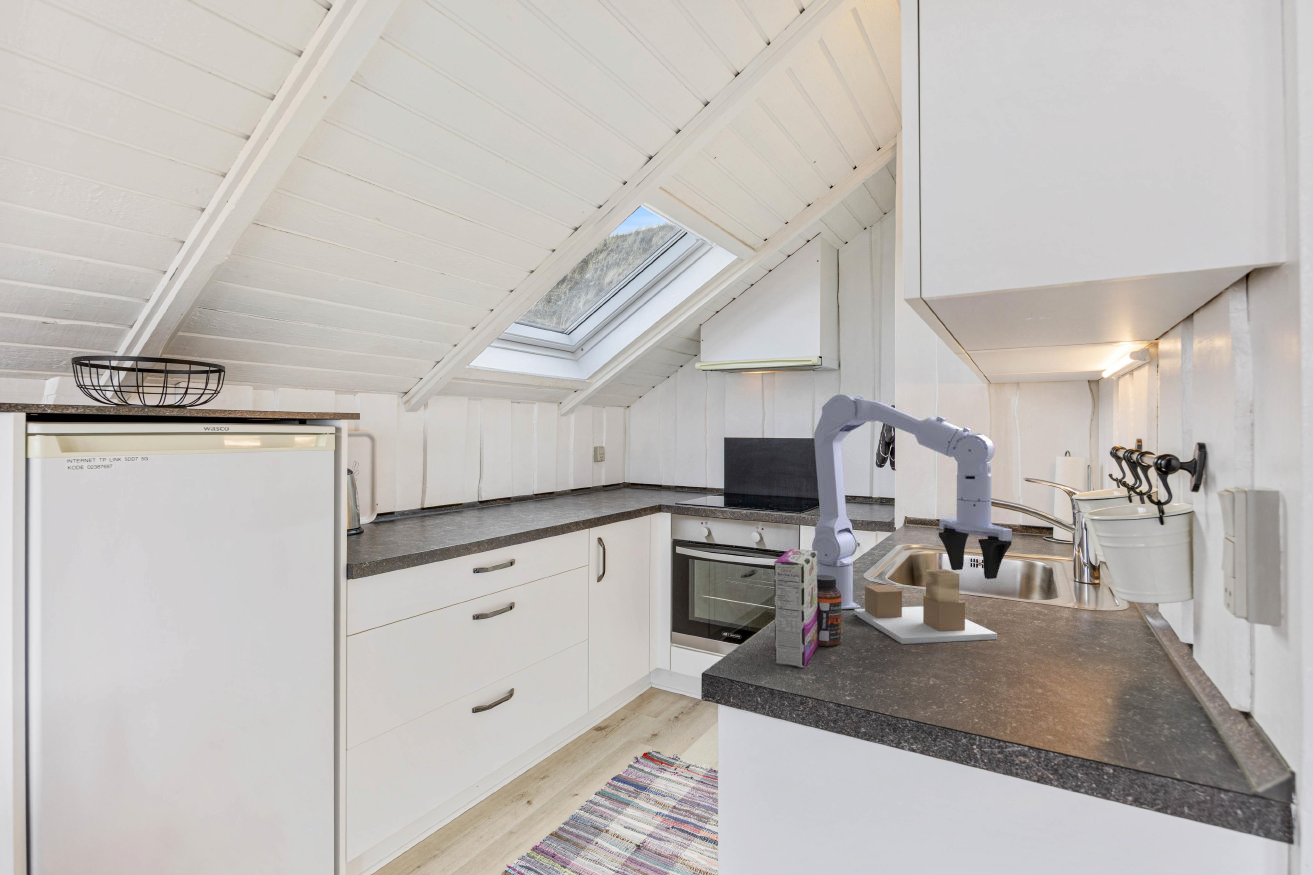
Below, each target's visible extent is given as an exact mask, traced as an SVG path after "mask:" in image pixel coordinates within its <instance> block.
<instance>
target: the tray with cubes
mask: <svg viewBox="0 0 1313 875" xmlns="http://www.w3.org/2000/svg"><path fill="white" fill-rule="evenodd" d="M853 610H854V612H853V613H854V615H855V616H856V615H857V616H856V617H858V618H860V619H862V620H863V621H864V622H866V623H867V624H869V625H871V626H872V627H874V628H876V629H878V630H879V631H881V633H884V634H885V635H887V636H888V637H890V638H892V639H894V640H896V642H899V643H900V644H901V645H905V644H907V645H908V644H928V643H943V642H944V643H948V642H964V641H965V642H967V641H969V642H970V641H985V640H987V641H988V640H998V633H997V632H995V631H993V630H991V629H988V628H986V627H984V626H982V625H980V624H977V623H975V622H973V621H971V620H969V619H967V618H966V602H965V601H963V600H960V599H959V602H944V603H938V602H936V601H934V600H932V599H929V598H927V597H926V595H923V604H922V606H903V591H902V590H900V589H898V588H896V587H894V586H892V585H889V584H882V585H881V584H877V585H876V584H875V585H864V608H858V609H853Z"/></svg>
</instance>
